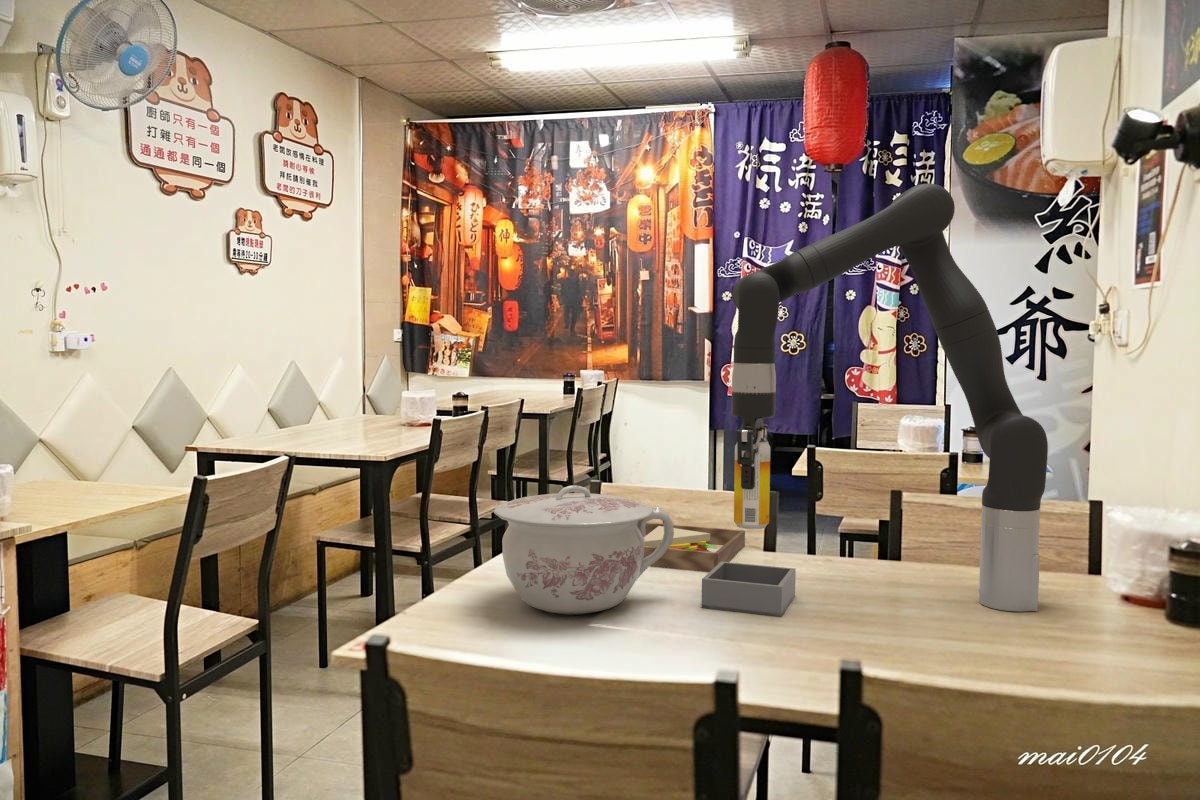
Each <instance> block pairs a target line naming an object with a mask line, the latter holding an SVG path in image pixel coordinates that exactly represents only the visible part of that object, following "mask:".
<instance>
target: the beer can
mask: <svg viewBox="0 0 1200 800" xmlns="http://www.w3.org/2000/svg"><path fill="white" fill-rule="evenodd" d="M755 447H756V443H755V444H753V448H755ZM759 448H760V449H759V454H758V455H756V465H755V487H754V488H753V489H743V488H742V487H741V467H740V464H738V462H737V459H738V454H737V443H736V444H735V446H734V474H733V475H734V478H733V480H734V483H733V487H734V488H733V489H734V491H733V522H734V523H735V525H736V527H738V528H739V529H742V530H763V529H765V528H767V525H769V524H770V501H771V500H770V499H771V498H770V496H771V495H770V494H771V493H770V490H771V446H770V444H769V441H768V439H767V440H765V442H764V441H763V442H760V447H759ZM745 457H748V458H749V453H746V454H745Z"/></svg>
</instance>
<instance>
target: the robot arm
mask: <svg viewBox="0 0 1200 800" xmlns="http://www.w3.org/2000/svg"><path fill="white" fill-rule="evenodd" d="M955 206H956V205H955V202H954V198H953V197H952V195H951V193H950V192H949V191H948V190H947V189H946V188H944V187H943V186H941V185H940V184H939V185H938V184H935V183H923V184H922V183H921V184H920V183H919V184H917V185H915V186H912V187H910V188H909V189H907V190H905V191H904V192H903V193H901V194H900V195H898V196H897V197H896V198H894V199H893V200H892V202H891V204H890V205H888V206H887V207H885V208H883V209H882V210H881V211H879V212H877V213H875V214H873V215H871V216H869V217H868V218H865V219H864V220H861V221H860V222H858V223H855V224H854V225H853V224H852V225H851V226H849V227H846V228H844V229H843V230H842V229H841V230H840V231H838V232H836V233H833V234H831V235H828V236H826V237H823V238H821V239H819V240H817V241H815V242H813V243H810V244H808V245H806V246H804V247H802V248H800V249H798V250H797V251H794V252H792V253H791V254H789V255H787V256H785V257H784V258H782V259H781V260H778V261H777V262H775V263H772V264H769V265H767V266H765V267H763V268H760V269H757V270H756V271H754V272H751V273H749V274H746V275H745V276H742V277H741V278H739V280H738V281H737V282H736V283H735V284H734V286H733V289H732V293H731V297H732V299H731V300H732V302H733V305H734V306H735V308H736V309H737V310H738V313H737V317H738V318H737V330H736V333H735V335H734V340H733V341H734V342H733V366H732V374H731V416H732V417H733V418H738V419H739V418H741V419H742V427H740V428H739V429H737V432H736V436H737V437H736V440H737V442H736V444H737V454H738V459H737V462H738V464H740V467H741V487H742V488H743V489H753V488H754V487H755V465H756V455H758V454H759V449H760V448H759V447H760V442H763V441H764V442H765V440H767V441H768V429H769V426H768V424H767V423H764V419H772V418H775V416H776V399H777V398H776V397H777V395H776V394H777V393H776V391H777V389H776V388H777V386H776V385H777V374H776V364H775V363H776V341H775V340H776V339H775V337H776V331H777V330H776V329H777V324H778V316H779V311H780V310H779V309H780V303H782V302H784V301H786V300H788V299H789V298H791V297H793V296H795V295H799V294H803V293H806V292H809V291H811V290H813V289H815V288H817V287H819V286H822V285H823V284H825V283H827V282H829V281H832V280H833V279H836V278H837V277H840V276H841V275H843V274H844V273H846V272H848V271H850V270H852V269H854V268H855V267H857V266H859V265H861V264H863V263H864V262H866V261H868V260H869V259H870V260H871V258H872V259H873V258H874V257H875V256H878V255H879V254H881V253H884V252H886V251H888V250H890V249H893V248H895V247H899V249H900V251H901V253H902V255H903V256H904V258H905V260H906V262H907V263H908V266H909V268H910V270H911V272H912V273H913V276H914V278H915V281H916V284H917V286H918V289H919V292H920V295H921V297H922V300H923V302H924V305H925V308H926V310H927V313H928V315H929V318H930V320H931V322H932V325H933V326H932V327H933V329H934V331H935V333H936V336H937V339H938V340H939V343H940V345H941V348H942V350H943V352H944V354H945V356H946V359H947V361H948V363H949V366H950V368H951V370H952V371H953V374H954V376H955V378H956V380H957V382H958V384H959V386H960V387H961V390H962V392H963V394H964V396H965V399H966V401H967V404H968V405H967V406H968V408H969V411H970V415H971V418H972V421H973V425H974V427H975V431H976V435H977V439H978V443H979V446H980V448H981V450H982V452H983V453H984V454H985V456H986V458H989V460H988V461H989V464H988V477H987V483H986V486H985V487H984V488H983V489H982V493H981V523H980V525H981V526H980V551H979V552H980V553H979V583H978V584H979V585H978V602H979V604H980V605H983V606H985V607H987V608H990V609H994V610H999V611H1006V612H1007V611H1008V612H1038V611H1039V593H1040V592H1039V591H1040V590H1039V589H1040V588H1039V587H1040V586H1039V585H1040V584H1039V583H1040V562H1041V561H1040V560H1041V559H1040V558H1041V556H1040V553H1039V551H1040V527H1041V525H1040V524H1041V523H1040V522H1041V501H1042V497H1043V496H1044V492H1045V489H1046V484H1047V483H1046V480H1047V472H1048V471H1047V469H1048V468H1047V467H1048V454H1049V451H1048V449H1049V447H1048V437H1047V433H1046V431H1045V428H1044V427H1043V426H1042V425H1041V423H1040V422H1039V421H1037V420H1035V418H1033V417H1029V416H1028V415H1027V416H1026V415H1024V414H1023V413H1022V411H1021V410H1020V408H1019V406H1018V404H1017V403H1016V400H1015V398H1014V396H1013V394H1012V392H1011V390H1010V387H1009V385H1008V382H1007V379H1006V375H1005V374H1006V373H1005V370H1004V369H1005V368H1004V361H1003V360H1004V359H1003V352H1002V351H1003V350H1002V344H1001V340H1000V336H999V334H998V329H997V326H996V325H995V322H994V320H993V317H992V315H991V313H990V309H989V307H988V306H987V304H986V301H985V300H984V297H982V295H981V293H980V291H978V289H977V288H976V287H975V286H974V284H973V282H971V280H970V279H969V278H968V277H967V275H966V274H965V273H964V272H963V270H962V269H961V268H960V267H959V266H958V264H957V263H956V261H955V259H954V258H953V256H952V253H951V252H950V249H949V246H948V243H947V241H946V237H945V234H944V231H945V230H946V229H947V228H948V227H949V225H950V224H951V222H952V220H953V218H954V215H955V210H956V209H955V208H956V207H955ZM755 443H756V447H755V448H753V444H755ZM746 453H749V458H748V457H745V454H746Z"/></svg>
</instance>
